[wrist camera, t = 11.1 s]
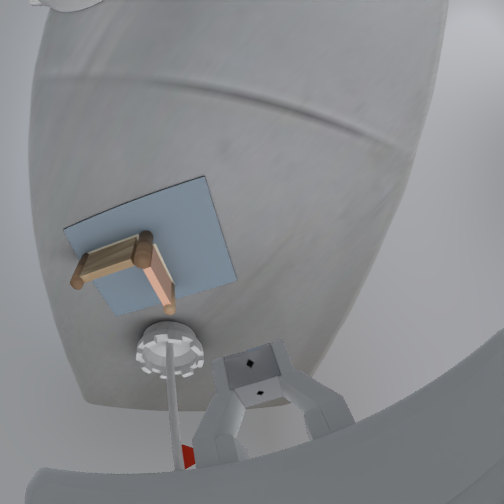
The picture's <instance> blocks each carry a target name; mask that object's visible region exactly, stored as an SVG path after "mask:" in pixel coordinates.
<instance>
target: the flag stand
mask: <svg viewBox="0 0 504 504" xmlns="http://www.w3.org/2000/svg"><path fill="white" fill-rule="evenodd" d="M136 360H138V361H140V363H141V369H142V370H144V371H145V372H147V373H148V374H150V373H151V372H152V371H154V372H157V373H160V378H164V379H167V392H168V407H169V420H170V430H171V441H172V449H173V459H174V466H175V471H183V470H185V469H187V468H188V467H190V466H192V465H194V464H195V457H194V450H193V448H191V447H188V446H185V445H182V444H181V436H180V428H179V419H178V408H177V397H176V385H175V374H181V373H182V376H183V377H187V376H190V375H192V374H194V368H196V367H202V365H203V363H204V356H203V348H202V345H201V343H200V342H199V340H198V339H197V338H196V336H195V333H194V332H193V331H192V330H191V329H190V328H189V327H188V326H186V325H184V324H181V323H178V322H172V321H164V322H158V323H155V324H153V325H151V326H149V327H148V328H147V329H146V330H145V332H144V333H143V337H142V338H141V339H140V340H139V342H138V344H137V351H136Z"/></svg>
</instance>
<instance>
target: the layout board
mask: <svg viewBox="0 0 504 504" xmlns="http://www.w3.org/2000/svg"><path fill="white" fill-rule="evenodd" d="M63 231H64V233H65V234H66V236H67V238H68V240H69V242H70V244H71V246H72V247H73V249H74V251H75V253H76V254H77V256H78V258H79V260H80V259H81V257H82V255H83V254H85V253H88V254H91V253H93V252H96V251H99V250H101V249H104V248H107V247H109V246H112V245H115V244H118V243H120V242H123V241H126V240H129V239H132V238H134V237H136V238H137V240H138V239H139V235H140V233H141V232H142V231H150V232H151V233H152V234H153V244H152V246H154V248H155V250H156V252H157V254H158V256H159V258H160V260H161V262H162V264H163V266H164V268H165V270H166V272H167V274H168V276H169V278H170V280H171V282H172V283H174V284H175V299H178V298H181V297H185V296H188V295H191V294H195V293H198V292H201V291H205V290H208V289H211V288H214V287H218V286H221V285H224V284H227V283H231V282H234V281H237V279H236V276H235V272H234V269H233V266H232V263H231V260H230V257H229V254H228V251H227V248H226V244H225V241H224V238H223V235H222V232H221V229H220V225H219V222H218V219H217V216H216V212H215V209H214V206H213V203H212V199H211V196H210V193H209V190H208V186H207V183H206V180H205V176H203V177H200V178H196V179H193V180H190V181H187V182H184V183H181V184H178V185H175V186H172V187H169V188H166V189H163V190H160V191H158V192H155V193H152V194H149V195H146V196H144V197H141V198H138V199H136V200H133V201H130V202H128V203H125V204H122V205H120V206H117V207H115V208H112V209H110V210H107V211H105V212H102V213H100V214H98V215H95V216H93V217H90V218H88V219H86V220H83V221H81V222H79V223H77V224H74V225H72V226H70V227H68V228H65V229H64V230H63ZM92 281H93V283H94V284H95V286H96V287H97V289H98V290H99V292H100V293H101V295H102V296H103V298H104V299H105V301H106V302H107V304H108V305H109V307H110V308H111V310H112V311H113V312H114V314H115V315H116V316H119V315H123V314H126V313H130V312H133V311H137V310H140V309H144V308H147V307H151V306H154V305H157V304H161V303H162V302H161V301H160V299H159V297H158V296H157V294H156V292H155V290H154V289H153V287H152V285H151V283H150V281H149V280H148V278H147V276H146V274H145V272H144V271H143V269H140V268H138V267H136V266H135V264H134V266H133V267H130V268H127V269H124V270H121V271H118V272H115V273H112V274H109V275H106V276H103V277H100V278H97V279H94V280H92Z"/></svg>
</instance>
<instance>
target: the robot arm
mask: <svg viewBox="0 0 504 504" xmlns="http://www.w3.org/2000/svg"><path fill="white" fill-rule="evenodd" d="M101 1H102V0H29V3H30V4H31V5H32V6H43V5H45V6H48V7H50V8H52V9H54V10H56V11H61V12H72V11H78V10H82V9H85V8H88V7H90V6H93V5H95V4H97V3H99V2H101ZM211 365H212V371H213V376H214V382H215V388H216V393H217V394H215V395H213V397H212V399H211V401H210V403H209V405H208V407H207V410H206V412H205V414H204V416H203V418H202V420H201V422H200V425H199V427H198V429H197V431H196V433H195V435H194V437H193V439H192V442H193V450H194V457H195V463H196V469H192V470H183V471H174V472H162V473H144V474H101V473H86V472H75V471H65V470H57V469H51V468H40V469H39V470H38V471H37V472H36V474H35V475H34V477H33V478H32V479H31V481H30V483H29V484H28V486H27V489H26V494H25V504H504V328H503V329H501V330H499V331H498V332H497V333H496V334H495V335H493V336H492V337H491V338H490V339H489V340H488V341H486V342H485V343H484V344H483V345H482V346H480V347H479V348H478V349H477V350H475V351H474V352H473V353H472V354H470V355H469V356H468V357H466V358H465V359H464V360H463V361H461V362H460V363H458V364H457V365H456V366H454V367H453V368H451V369H450V370H448V371H447V372H446V373H444V374H443V375H441V376H440V377H438V378H437V379H435V380H434V381H432V382H431V383H429V384H428V385H426V386H424V387H423V388H421V389H419V390H418V391H416V392H414V393H413V394H411V395H409V396H407V397H406V398H404V399H403V400H400V401H399V402H397V403H395V404H393V405H391V406H389V407H387V408H385V409H384V410H382V411H380V412H378V413H376V414H374V415H371V416H370V417H367V418H365V419H363V420H361V421H359V422H357V423H355V421H354V419H353V416H352V415H351V412H350V410H349V408H348V406H347V404H346V402H345V400H344V398H343V396H341V395H340V394H338V393H336V392H334V391H333V390H331V389H329V388H328V387H326V386H324V385H323V384H321V383H319V382H317V381H316V380H314V379H313V378H311V377H310V376H308V375H306V374H305V373H303V372H302V371H300V370H296V371H295V369H294V367H293V364H292V362H291V359H290V357H289V354H288V352H287V349H286V347H285V345H284V342H283V340H282V339H280V340H277V341H275V342H272V343H267V344H265V345H262V346H259V347H256V348H252V349H249V350H247V351H244V352H241V353H237V354H233V355H230V356H226V357H222V358H218V359H214V360H212V363H211ZM283 396H284V397H285V398H286V399H287V400H289V401H290V402H291V403H293V404H294V405H295V406H297V407H298V408H299V409H300V410H302V411H303V412H304V413H305V414H304V418H305V425H306V430H307V434H308V437H309V440H310V441H309V442H306V443H303V444H300V445H297V446H294V447H291V448H288V449H285V450H281V451H278V452H274V453H271V454H267V455H263V456H259V457H255V458H251V459H250V458H249V454H248V451H247V449H246V448H244V446H242V445H241V444H240V443H239V442H238V441H237V440H236V436H237V433H238V430H239V427H240V424H241V421H242V418H243V415H244V412H245V408H246V407H249V406H252V405H256V404H259V403H262V402H265V401H269V400H272V399H276V398H279V397H283Z"/></svg>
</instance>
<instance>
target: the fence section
mask: <svg viewBox="0 0 504 504" xmlns="http://www.w3.org/2000/svg"><path fill="white" fill-rule="evenodd" d="M143 271H144V272H145V274H146V276H147V278H148V280H149V281H150V283H151V285H152V287H153V289H154V290H155V292H156V294H157V296H158V297H159V299H160V301H161V302H162V304H163V306H164V313H165V314H167V315H173V314H174V313H175V311H176V310H175V284H174V283H172V282H171V280H170V278H169V276H168V274H167V272H166V270H165V268H164V266H163V264H162V262H161V260H160V258H159V256H158V254H157V252H156V250H155V248H154V246H152V251H151V258H150V264H149V266H148V267H147V268H144V269H143Z"/></svg>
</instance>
